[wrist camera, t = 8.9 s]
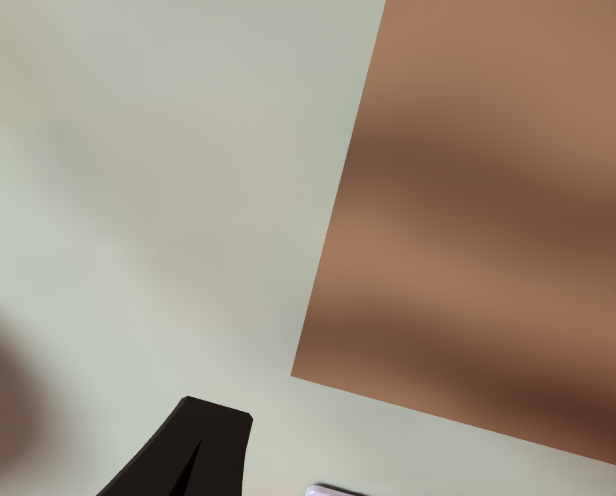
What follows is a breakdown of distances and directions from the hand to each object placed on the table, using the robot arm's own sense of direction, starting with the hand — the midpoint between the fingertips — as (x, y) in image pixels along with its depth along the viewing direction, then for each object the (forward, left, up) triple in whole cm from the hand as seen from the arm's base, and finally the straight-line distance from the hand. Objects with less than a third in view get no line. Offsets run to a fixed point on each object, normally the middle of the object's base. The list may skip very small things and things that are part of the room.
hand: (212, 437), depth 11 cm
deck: (+3, -7, -9) cm, 12 cm away
